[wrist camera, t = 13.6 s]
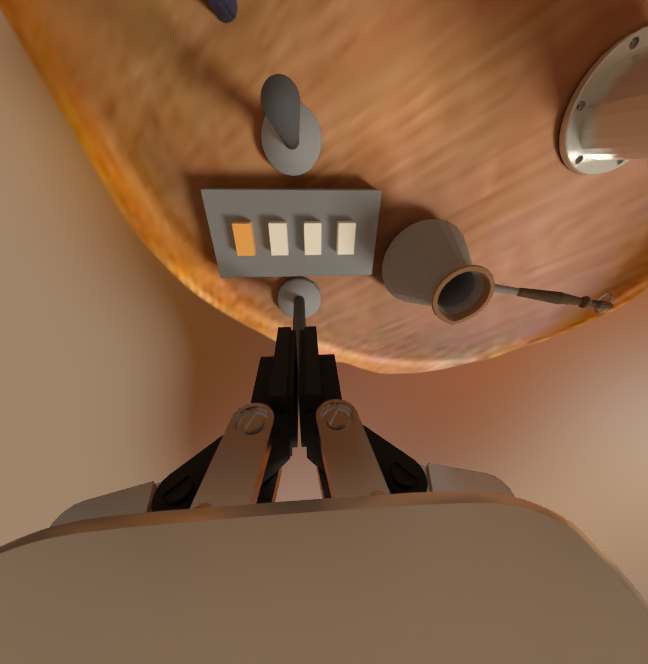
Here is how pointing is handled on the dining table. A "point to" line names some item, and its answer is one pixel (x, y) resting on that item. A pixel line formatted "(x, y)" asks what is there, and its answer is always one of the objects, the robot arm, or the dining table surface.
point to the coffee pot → (452, 274)
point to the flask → (224, 9)
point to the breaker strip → (292, 230)
